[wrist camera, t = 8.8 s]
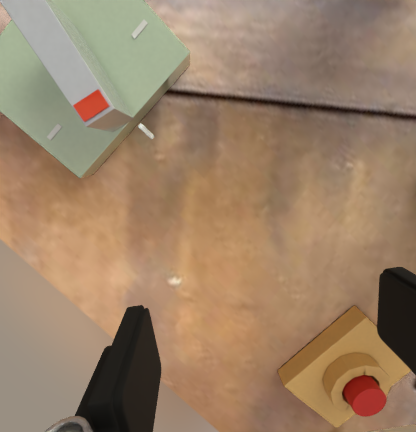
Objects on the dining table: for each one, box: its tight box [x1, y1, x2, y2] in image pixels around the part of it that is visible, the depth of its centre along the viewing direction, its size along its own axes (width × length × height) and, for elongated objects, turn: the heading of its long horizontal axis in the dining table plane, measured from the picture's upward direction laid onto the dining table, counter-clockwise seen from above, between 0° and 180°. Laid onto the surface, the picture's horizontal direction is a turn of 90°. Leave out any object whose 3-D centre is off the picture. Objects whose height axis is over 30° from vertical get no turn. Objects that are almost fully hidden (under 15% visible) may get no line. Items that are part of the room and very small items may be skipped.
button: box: [343, 375, 386, 416], centre depth 27 cm, size 4×4×2 cm
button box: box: [278, 306, 411, 428], centre depth 29 cm, size 12×10×4 cm
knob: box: [0, 0, 134, 132], centre depth 16 cm, size 7×2×6 cm, turn 30°
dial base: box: [0, 0, 190, 178], centre depth 20 cm, size 13×12×3 cm
